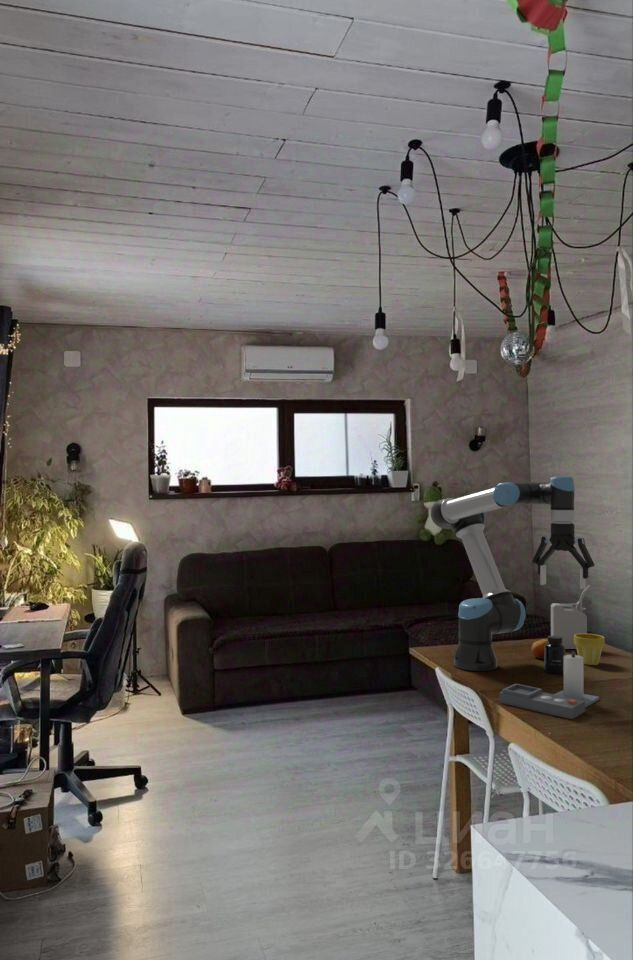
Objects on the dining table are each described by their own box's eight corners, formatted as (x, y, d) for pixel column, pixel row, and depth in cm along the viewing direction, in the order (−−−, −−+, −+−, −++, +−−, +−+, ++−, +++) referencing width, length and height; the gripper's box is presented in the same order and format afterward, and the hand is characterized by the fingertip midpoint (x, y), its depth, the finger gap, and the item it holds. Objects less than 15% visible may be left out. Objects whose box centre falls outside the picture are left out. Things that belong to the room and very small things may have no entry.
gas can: (590, 647, 279) (590, 584, 279) (593, 650, 274) (593, 586, 274) (550, 646, 281) (550, 583, 281) (553, 649, 276) (553, 585, 276)
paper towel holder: (560, 697, 210) (560, 652, 210) (568, 693, 215) (568, 648, 215) (579, 701, 207) (578, 655, 207) (586, 696, 211) (586, 651, 211)
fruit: (556, 658, 256) (544, 637, 258) (537, 666, 260) (525, 646, 262) (561, 653, 263) (549, 634, 265) (542, 662, 266) (531, 642, 269)
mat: (547, 700, 210) (547, 697, 210) (563, 692, 218) (563, 689, 218) (584, 708, 203) (584, 705, 203) (599, 699, 211) (599, 696, 211)
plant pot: (597, 659, 260) (597, 632, 260) (609, 666, 250) (609, 638, 250) (569, 659, 260) (569, 633, 260) (581, 666, 249) (580, 639, 249)
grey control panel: (499, 702, 208) (499, 689, 208) (513, 695, 215) (513, 682, 215) (572, 719, 193) (572, 704, 193) (585, 711, 200) (585, 697, 200)
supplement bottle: (555, 675, 238) (554, 639, 238) (540, 670, 244) (539, 636, 244) (569, 672, 241) (569, 637, 241) (554, 668, 247) (554, 634, 247)
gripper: (604, 523, 228) (604, 588, 228) (532, 521, 245) (532, 581, 245) (595, 524, 223) (595, 591, 222) (522, 521, 240) (522, 584, 239)
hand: (562, 586), depth 234 cm, fingers open, 13 cm apart
